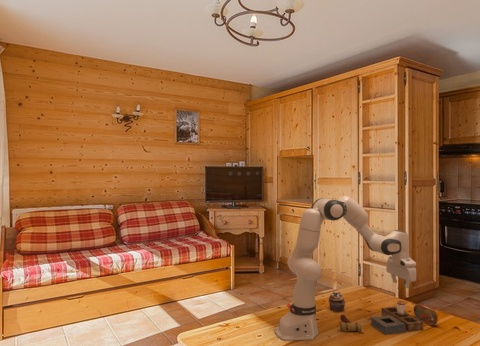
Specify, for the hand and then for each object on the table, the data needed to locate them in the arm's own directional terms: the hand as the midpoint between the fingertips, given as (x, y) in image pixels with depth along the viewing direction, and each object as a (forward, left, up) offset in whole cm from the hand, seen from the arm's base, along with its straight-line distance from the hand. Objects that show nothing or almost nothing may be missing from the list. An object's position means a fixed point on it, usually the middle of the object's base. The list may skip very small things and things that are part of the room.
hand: (400, 285), depth 189 cm
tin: (+13, -3, -21) cm, 25 cm away
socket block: (-12, -5, -20) cm, 24 cm away
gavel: (-30, +5, -21) cm, 37 cm away
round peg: (0, 0, -20) cm, 20 cm away
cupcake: (-25, +25, -20) cm, 41 cm away
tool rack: (0, 0, -20) cm, 20 cm away
